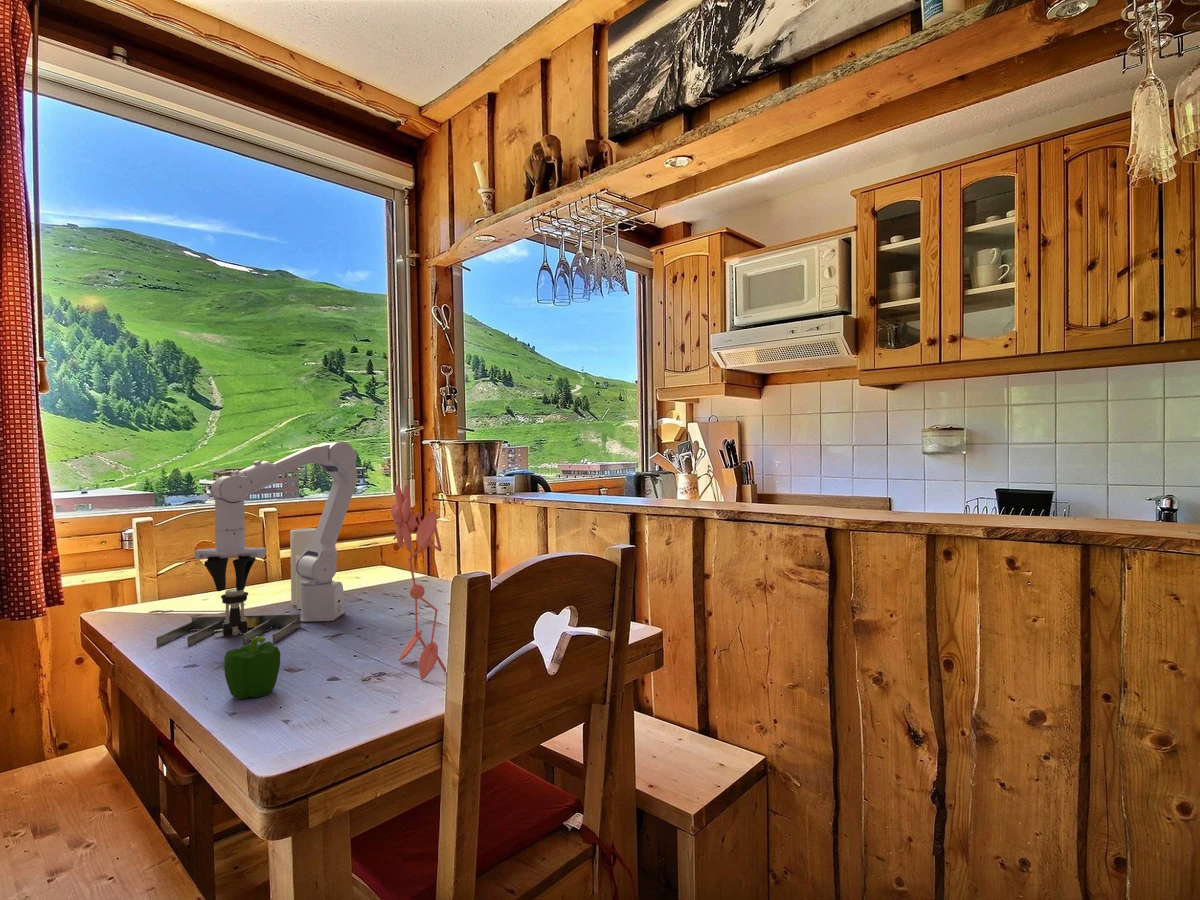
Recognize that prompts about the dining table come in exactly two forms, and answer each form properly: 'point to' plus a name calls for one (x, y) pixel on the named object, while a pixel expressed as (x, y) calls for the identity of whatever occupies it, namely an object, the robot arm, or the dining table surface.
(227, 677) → the bell pepper
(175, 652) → the dining table surface
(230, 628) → the push button
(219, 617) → the rack
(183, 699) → the dining table surface
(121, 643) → the dining table surface
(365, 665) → the dining table surface
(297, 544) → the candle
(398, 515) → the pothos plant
